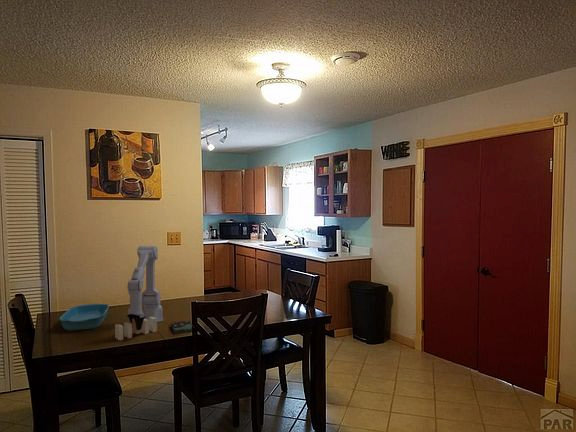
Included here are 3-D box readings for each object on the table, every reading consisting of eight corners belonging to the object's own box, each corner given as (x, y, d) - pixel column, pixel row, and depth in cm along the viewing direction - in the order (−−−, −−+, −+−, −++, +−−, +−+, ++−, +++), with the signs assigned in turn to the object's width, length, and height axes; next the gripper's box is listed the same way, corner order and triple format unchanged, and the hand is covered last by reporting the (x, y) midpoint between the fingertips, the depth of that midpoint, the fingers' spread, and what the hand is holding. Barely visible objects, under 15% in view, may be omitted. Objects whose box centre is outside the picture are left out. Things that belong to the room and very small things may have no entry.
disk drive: (170, 327, 227) (174, 335, 214) (170, 322, 227) (174, 329, 214) (189, 325, 231) (194, 332, 218) (189, 320, 231) (194, 327, 218)
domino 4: (144, 331, 219) (144, 318, 219) (149, 333, 216) (148, 320, 216) (141, 332, 218) (140, 319, 218) (145, 334, 215) (145, 320, 214)
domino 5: (152, 329, 223) (152, 316, 222) (157, 331, 219) (156, 318, 219) (149, 330, 221) (148, 317, 221) (153, 332, 218) (153, 319, 217)
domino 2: (128, 335, 213) (127, 321, 213) (132, 337, 210) (131, 323, 209) (124, 336, 212) (123, 322, 212) (128, 338, 208) (127, 324, 208)
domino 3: (136, 330, 216) (135, 317, 216) (140, 333, 213) (140, 319, 212) (132, 331, 215) (132, 318, 215) (136, 333, 211) (136, 320, 211)
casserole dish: (101, 330, 222) (100, 317, 222) (55, 334, 217) (54, 321, 216) (112, 313, 258) (111, 301, 258) (72, 316, 252) (72, 304, 252)
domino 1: (119, 337, 210) (118, 323, 210) (123, 339, 206) (123, 325, 206) (115, 338, 209) (114, 324, 208) (119, 340, 205) (119, 326, 205)
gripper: (122, 301, 216) (123, 327, 216) (134, 306, 205) (135, 333, 206) (135, 299, 221) (136, 324, 221) (147, 303, 210) (148, 330, 211)
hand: (136, 328), depth 214 cm, fingers closed on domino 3, 5 cm apart
